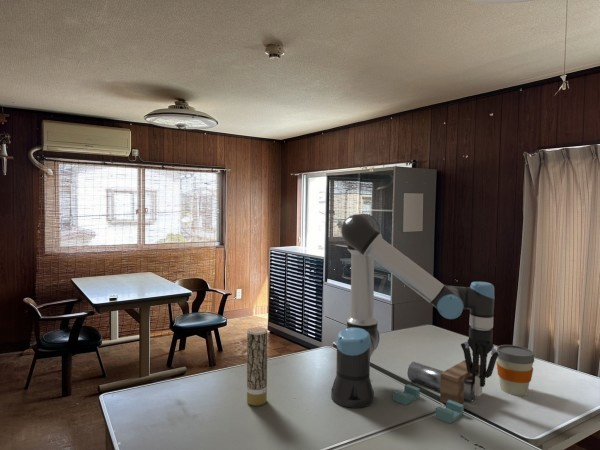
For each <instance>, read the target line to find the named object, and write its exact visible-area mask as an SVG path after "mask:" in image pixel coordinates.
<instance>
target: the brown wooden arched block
mask: <svg viewBox="0 0 600 450" xmlns="http://www.w3.org/2000/svg"><path fill="white" fill-rule="evenodd" d="M472 364H473V362H472ZM443 371H444V372H442V373H441V389H440V390H439V392H440V393H439V394H440V397H439V399H440V400H439V401H440V402H441V403H444V404H446V401H448V400H452V401H454V402H457V403H460V404H462V403H463V404H464V400H465V399H464V380H465V379H469V380H473V375H472V373H470V372H468V371H467V367H466V362H465V359H464V360H462V361H460V362H458V363H457V364H454V365H453V366H451V367H449V368H447V369H446V370H443ZM478 374H479V375H480V364H479V373H478ZM463 404H462V405H463Z"/></svg>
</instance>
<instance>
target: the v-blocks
mask: <svg viewBox="0 0 600 450" xmlns="http://www.w3.org/2000/svg"><path fill="white" fill-rule="evenodd" d="M420 395H421V388H419V387H416V386H413V385H411V384H405V385H404V391H400V390H398V389H395V390H394V391H393V392H392V396H393V398H392V400H393V401H395V402H398V403H400V404H402V405H404V406H406V405H408V404H410V403H413V401H416V400H417V399H419V398H420V397H421V396H420ZM464 409H465V406H464V404H460V403H457V402H454V401H452V400H448V401H446V403H445V407H441V406H437V407H436V408H435V419H438V420H440V421H443V422H445V423H448V424H452V423H453V422H454V421H456V420H458V419H459V418H460V417H461V416H463V415H464V413H465V412H464ZM462 414H463V415H462Z"/></svg>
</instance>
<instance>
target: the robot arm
mask: <svg viewBox="0 0 600 450" xmlns="http://www.w3.org/2000/svg"><path fill="white" fill-rule="evenodd" d="M340 232H341V236H342V239H343V240H344V241H345V242H346V243H347V245H346V246H347V248H346V249H347V251H348V252H349V253H350V255H351V256H350V258H351V259H350V262H351V263H350V267H351V268H350V316H349V317H347V319H346V328H344V329H342V330H340V331H339V332H338V334H337V337H336V372H335V373H336V374H335V378H334V381H333V384H332V387H331V388H330V389H331V391H330V398H331V400H332V402H334V403H335V404H336V405H338V406H341V407H346V408H350V409H351V408H352V409H360V408H365V407H369V406H370V405H372V404H373V403H374V401H375V391H374V389H373V384H372V381H371V377H370V375H371V373H370V371H371V369H370V368H371V357H372V356H373V354H374V353H375V351H376V350H377V348H378V347H379V343H380V333H379V329H378V320H377V318H376V317H374V313H375V312H374V305H375V304H374V302H375V301H374V297H375V293H374V292H375V291H374V290H375V289H374V288H375V262H376V263H377V264H379V265H380V266H381V267H382V268H384V269H385V270H386V271H388V272H389V273H390V274H392V275H393V276H394V277H396V278H397V279H398V280H399V281H401V282H402V283H404V284H405V285H406V286H407V287H409V288H410V289H411V290H412V291H414V292H415V293H416V294H417V295H418V296H420V297H422V298H423V299H424V300H425V301H427V302H428V303H429V304H431V305H432V306H433V307H435V309H437V312H438V313H439V314H440V315H441V316H442V317H443V318H445V319H447V320H455V319H457V318H458V317H460V316H461V315H462V312H463V310H469V319H468V320H469V322H468V323H469V327H468V339H467V341H466V342H465V341H464V342H462V343H460V347H461V348H462V351H463V355H464V360H465V362H466V367H467V371H468V372H470V373H472V375H473V380H472V383H473V384H475V394H474V395H476V397H480V396H482V395H483V388H484V387H485V386H486V378H487V379H488V378H490V377H491V376H492V374H493V372H494V368H495V365H496V364H497V357H498V356H499V355H500V351H497V348H495V346H494V343H493V340H494V339H493V338H494V335H493V334H494V329H493V328H494V315H495V312H494V311H495V310H494V309H495V300H496V299H495V298H496V297H495V286H494V284H492V283H490V282H488V281H487V282H486V281H472V282H471V283H470V285H469V286H467V287H466V286H457V285H456V286H455V285H447V284H443V283H442V282H441V281H439V280H438V279H437V278H435V277H434V276H433V275H432V274H431V273H429V272H428V271H426V270H425V269H423V268H422V267H421V266H420V265H418V264H417V263H416V262H415V261H413V260H412V259H411V258H409V257H408V256H406V255H405V254H403V253H402V252H401V251H400V250H398V249H397V248H396V247H394V246H393V245H392V244H390V243H389V242H387V240H385V239H384V238H383V236H382V231H381V224H380V223H379V220H377V218H376V217H375V216H373V215H371V214H367V213H359V214H358V213H357V214H352V215H350V216H348V217H347V218H346V219H344V221H343V222H342V225H341V230H340ZM471 351H472V353H471ZM489 353H490V354H491V356H490V359H489V360H487V359H488V354H489ZM471 354H472V355H471ZM487 361H489V362H488V365H487ZM472 363H473V364H472ZM479 365H480V375H479V374H478V373H479Z"/></svg>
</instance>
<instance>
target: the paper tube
mask: <svg viewBox="0 0 600 450" xmlns="http://www.w3.org/2000/svg"><path fill="white" fill-rule="evenodd" d="M246 333H247V334H246V335H247V336H246V338H247V339H246V341H247V345H246V346H247V348H246V357H247V358H246V402H247V403H248V405H250V406H253V407H255V406H256V407H258V406H259V407H260V406H263V405H264V404H266V402H267V398H268V397H267V395H268V329H267V328H265V327H261V326H258V327H257V326H256V327H250V328H248V329H247V332H246Z"/></svg>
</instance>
